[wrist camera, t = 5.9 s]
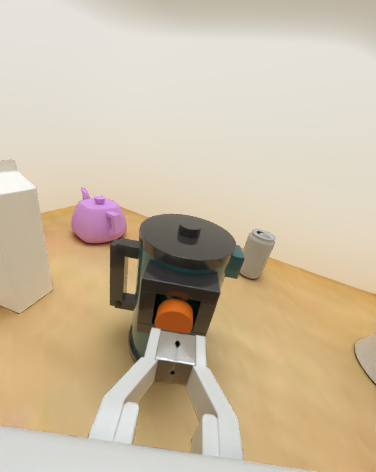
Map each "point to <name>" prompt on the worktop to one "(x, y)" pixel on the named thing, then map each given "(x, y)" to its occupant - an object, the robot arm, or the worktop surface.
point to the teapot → (98, 219)
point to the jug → (172, 271)
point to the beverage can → (256, 253)
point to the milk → (21, 242)
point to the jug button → (174, 316)
